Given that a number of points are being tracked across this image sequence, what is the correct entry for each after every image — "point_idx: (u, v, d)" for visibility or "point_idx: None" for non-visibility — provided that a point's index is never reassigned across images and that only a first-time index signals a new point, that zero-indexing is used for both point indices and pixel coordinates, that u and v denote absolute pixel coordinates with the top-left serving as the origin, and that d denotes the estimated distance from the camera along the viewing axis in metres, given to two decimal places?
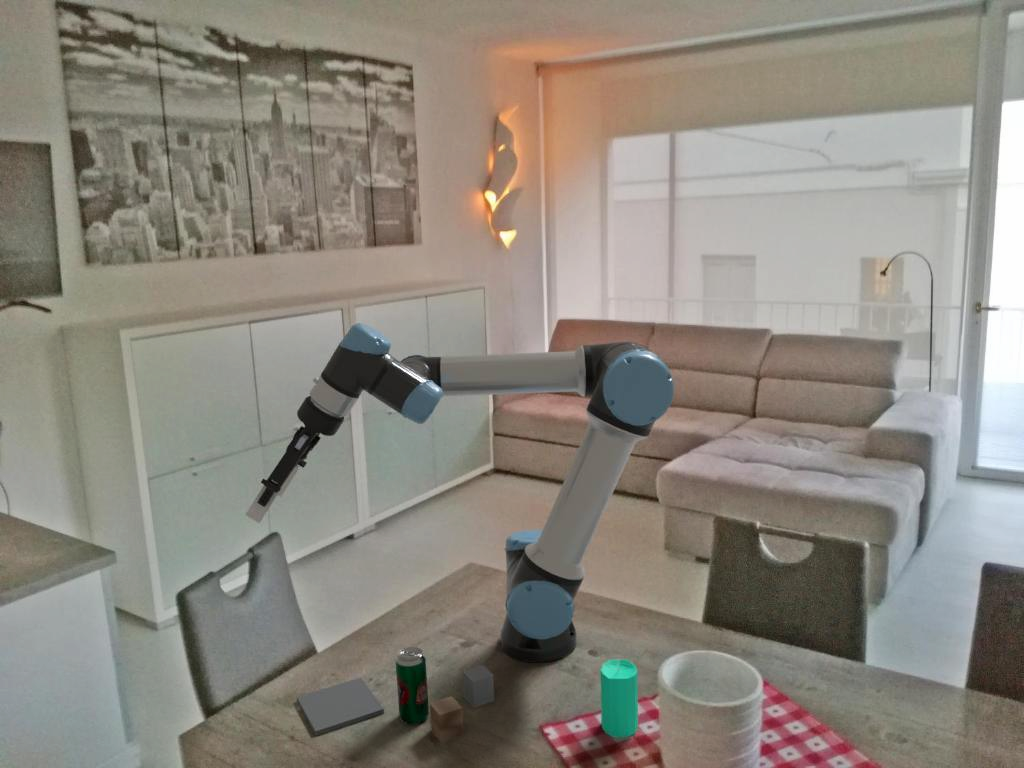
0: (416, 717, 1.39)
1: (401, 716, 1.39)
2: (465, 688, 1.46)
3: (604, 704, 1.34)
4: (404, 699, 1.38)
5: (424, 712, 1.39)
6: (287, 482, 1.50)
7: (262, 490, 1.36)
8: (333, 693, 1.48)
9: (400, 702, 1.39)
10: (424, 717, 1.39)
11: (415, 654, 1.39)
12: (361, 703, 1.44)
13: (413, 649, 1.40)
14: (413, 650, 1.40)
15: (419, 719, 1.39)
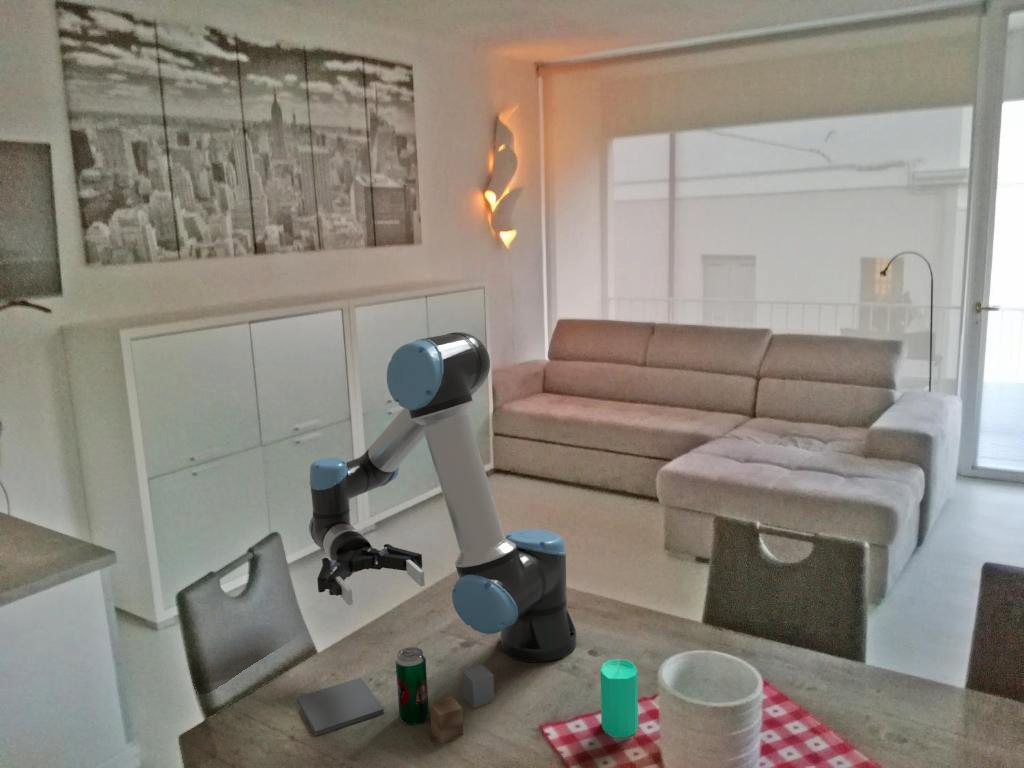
0: (416, 717, 1.39)
1: (401, 716, 1.39)
2: (465, 688, 1.46)
3: (604, 704, 1.34)
4: (404, 699, 1.38)
5: (424, 712, 1.39)
6: (413, 568, 1.51)
7: None
8: (333, 693, 1.48)
9: (400, 702, 1.39)
10: (424, 717, 1.39)
11: (415, 654, 1.39)
12: (361, 703, 1.44)
13: (413, 649, 1.40)
14: (413, 650, 1.40)
15: (419, 719, 1.39)
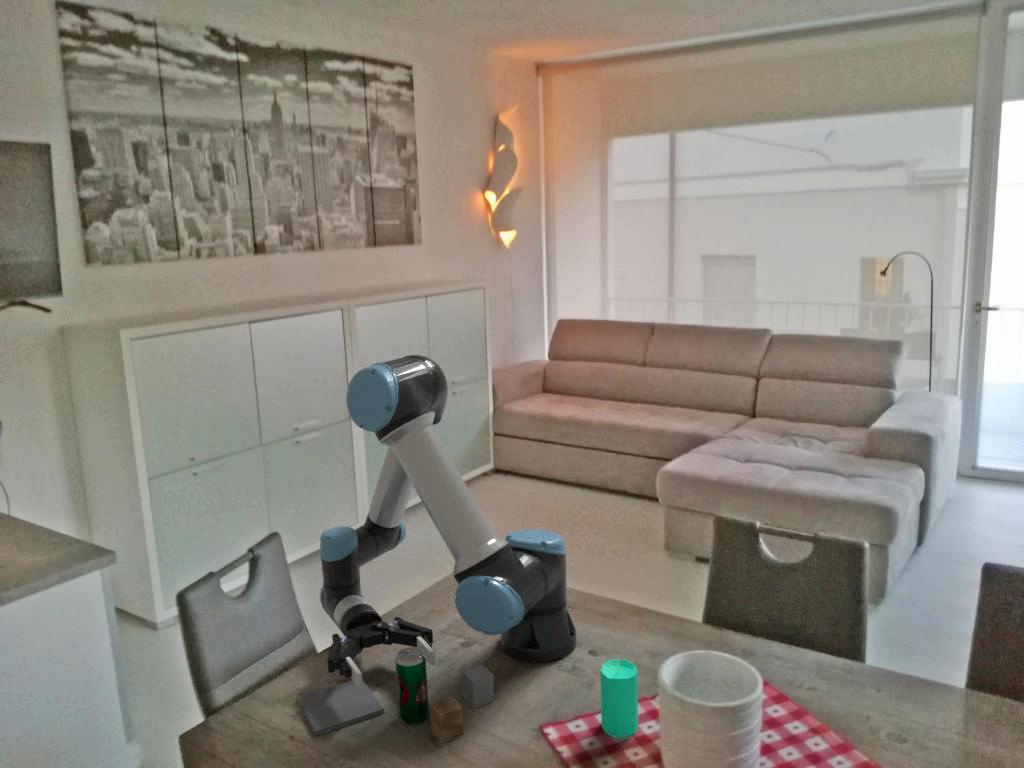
0: (416, 717, 1.39)
1: (401, 716, 1.39)
2: (465, 688, 1.46)
3: (604, 704, 1.34)
4: (404, 699, 1.38)
5: (424, 712, 1.39)
6: (423, 646, 1.50)
7: None
8: (333, 693, 1.48)
9: (400, 702, 1.39)
10: (424, 717, 1.39)
11: (415, 654, 1.39)
12: (361, 703, 1.44)
13: (413, 649, 1.40)
14: (413, 650, 1.40)
15: (419, 719, 1.39)
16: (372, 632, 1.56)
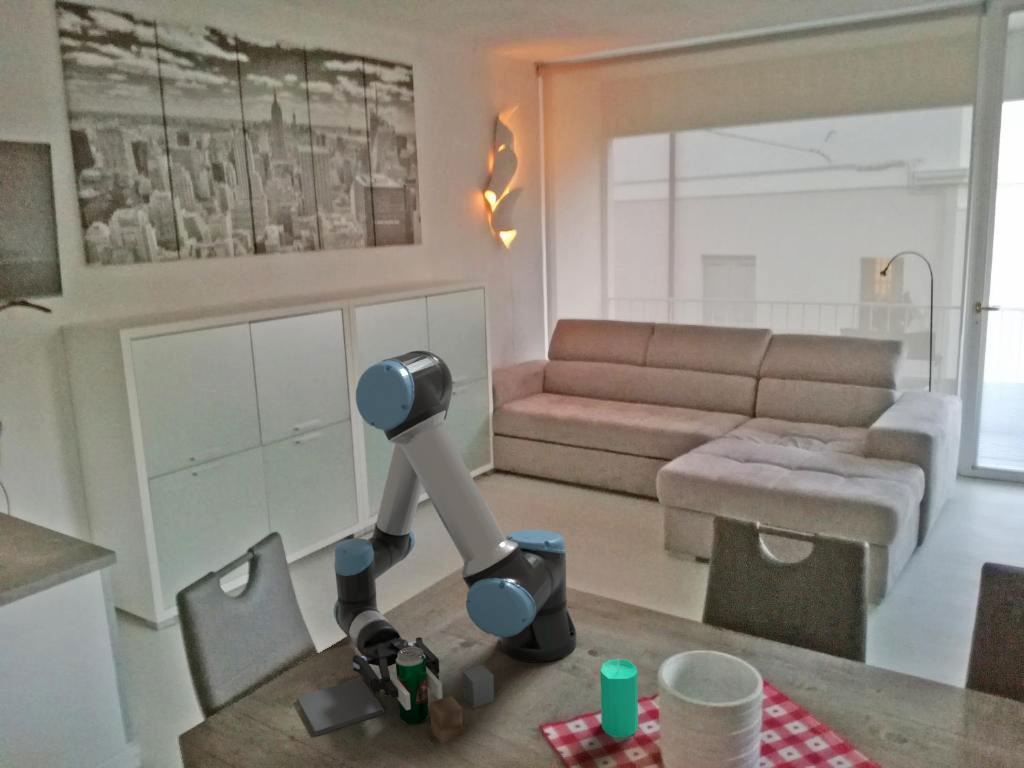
0: (416, 717, 1.39)
1: (401, 716, 1.39)
2: (465, 688, 1.46)
3: (604, 704, 1.34)
4: None
5: (424, 712, 1.39)
6: (430, 678, 1.39)
7: None
8: (333, 693, 1.48)
9: None
10: (424, 717, 1.39)
11: (415, 654, 1.39)
12: (361, 703, 1.44)
13: (413, 649, 1.40)
14: (413, 650, 1.40)
15: (419, 719, 1.39)
16: (391, 650, 1.48)
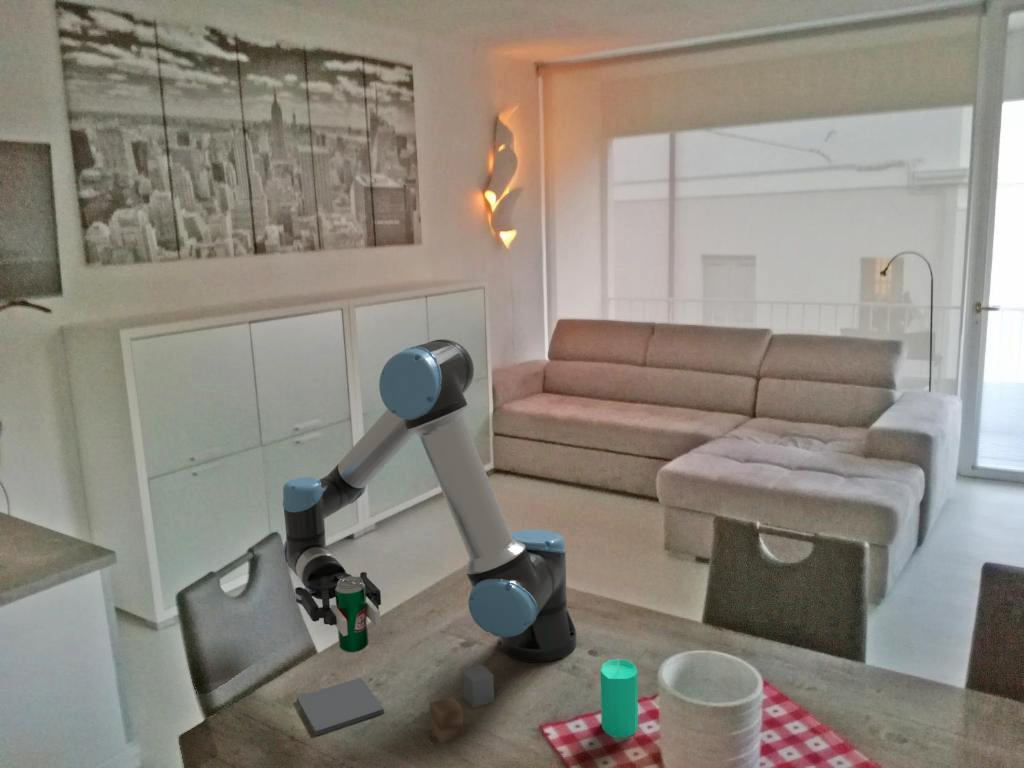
0: (355, 645, 1.39)
1: (340, 644, 1.40)
2: (465, 688, 1.46)
3: (604, 704, 1.34)
4: None
5: (363, 641, 1.40)
6: (369, 607, 1.40)
7: None
8: (333, 693, 1.48)
9: None
10: (363, 646, 1.40)
11: (355, 583, 1.40)
12: (361, 703, 1.44)
13: (353, 578, 1.41)
14: (353, 579, 1.41)
15: (358, 647, 1.40)
16: (334, 583, 1.49)
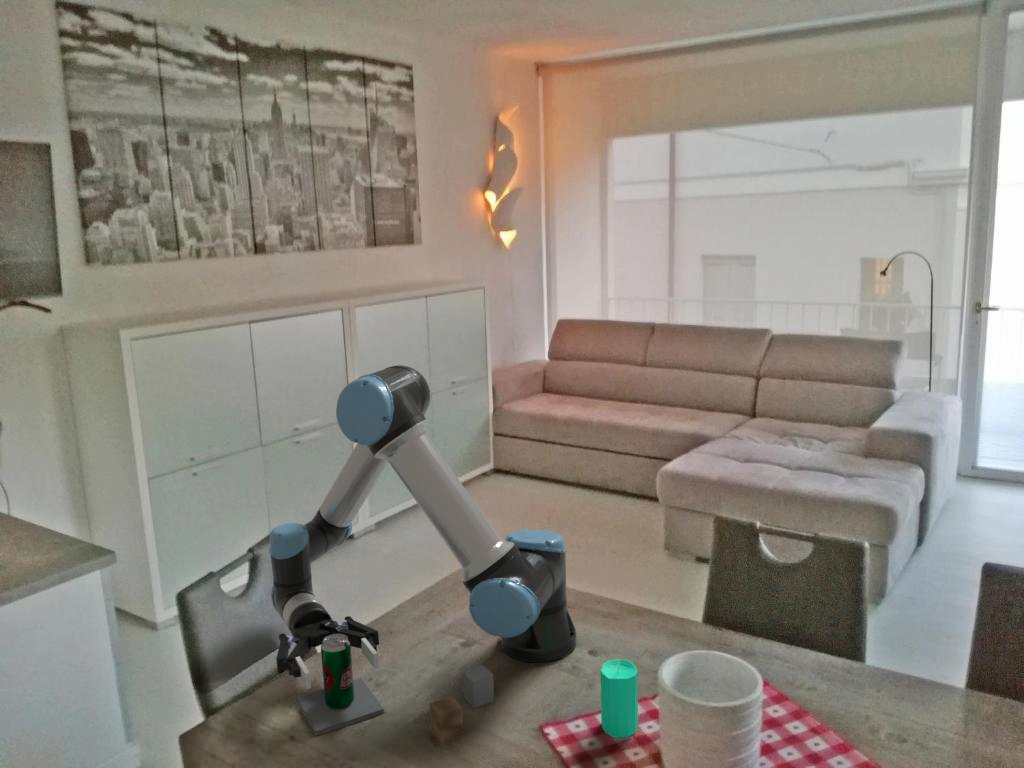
0: (340, 702, 1.42)
1: (326, 701, 1.43)
2: (465, 688, 1.46)
3: (604, 704, 1.34)
4: (329, 684, 1.42)
5: (348, 697, 1.43)
6: (367, 648, 1.45)
7: None
8: None
9: (325, 687, 1.43)
10: (349, 702, 1.43)
11: (340, 640, 1.43)
12: (361, 703, 1.44)
13: (338, 636, 1.44)
14: (338, 637, 1.44)
15: (343, 704, 1.43)
16: (320, 631, 1.52)
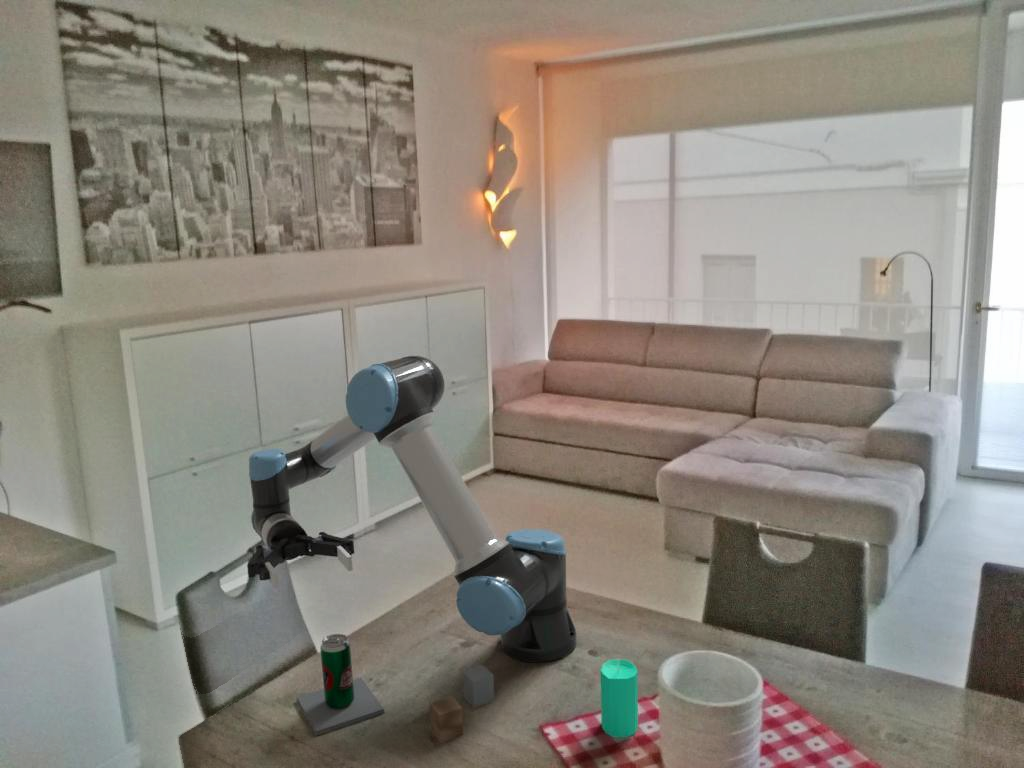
0: (340, 702, 1.42)
1: (326, 701, 1.43)
2: (465, 688, 1.46)
3: (604, 704, 1.34)
4: (329, 684, 1.42)
5: (348, 697, 1.43)
6: (342, 554, 1.55)
7: None
8: None
9: (325, 687, 1.43)
10: (349, 702, 1.43)
11: (339, 641, 1.43)
12: (361, 703, 1.44)
13: (338, 636, 1.44)
14: (338, 637, 1.44)
15: (343, 704, 1.43)
16: (295, 543, 1.61)
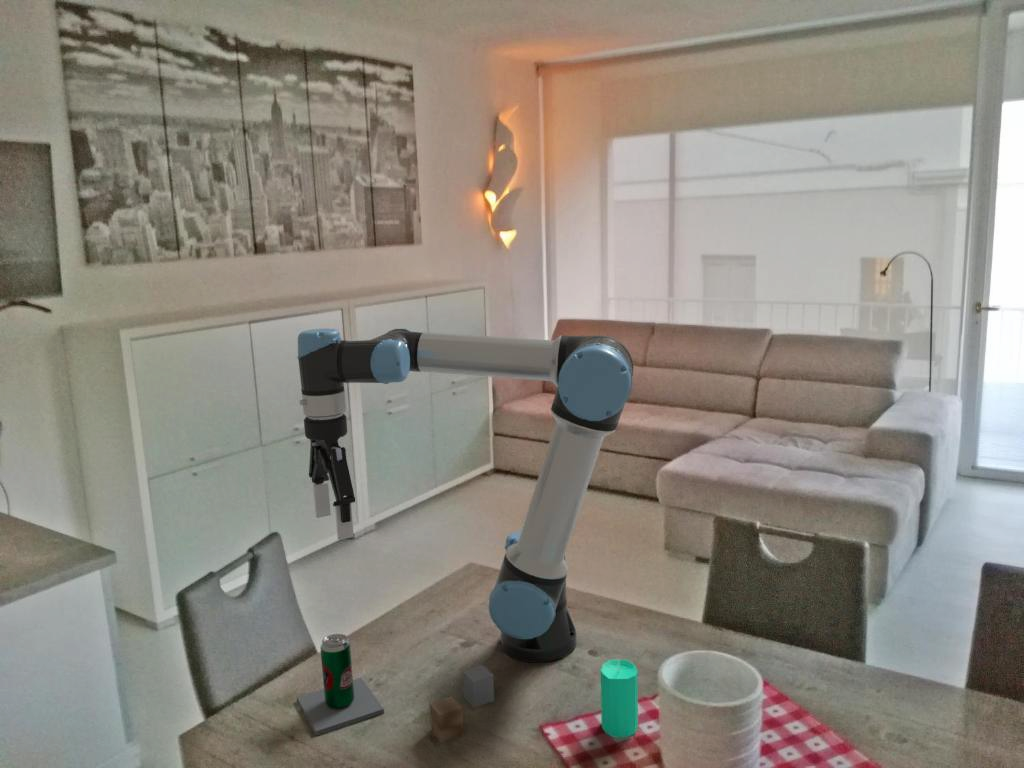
0: (340, 702, 1.42)
1: (326, 701, 1.43)
2: (465, 688, 1.46)
3: (604, 704, 1.34)
4: (329, 684, 1.42)
5: (348, 697, 1.43)
6: (327, 500, 1.58)
7: (338, 511, 1.45)
8: None
9: (325, 687, 1.43)
10: (349, 702, 1.43)
11: (339, 641, 1.43)
12: (361, 703, 1.44)
13: (338, 636, 1.44)
14: (338, 637, 1.44)
15: (343, 704, 1.43)
16: None
